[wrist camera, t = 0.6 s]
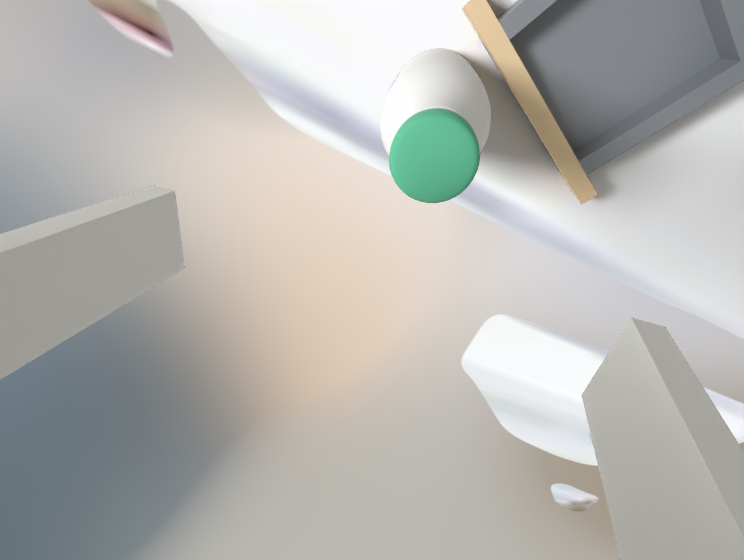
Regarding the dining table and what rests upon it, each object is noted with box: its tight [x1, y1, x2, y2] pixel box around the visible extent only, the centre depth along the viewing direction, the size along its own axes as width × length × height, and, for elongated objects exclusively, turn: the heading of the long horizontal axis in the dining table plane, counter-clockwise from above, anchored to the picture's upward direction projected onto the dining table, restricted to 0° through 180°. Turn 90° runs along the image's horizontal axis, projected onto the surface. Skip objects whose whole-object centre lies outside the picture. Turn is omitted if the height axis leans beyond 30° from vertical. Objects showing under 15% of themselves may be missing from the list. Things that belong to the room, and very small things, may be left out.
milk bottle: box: [380, 48, 491, 203], centre depth 27 cm, size 8×8×20 cm
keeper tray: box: [462, 0, 744, 204], centre depth 30 cm, size 20×15×3 cm
